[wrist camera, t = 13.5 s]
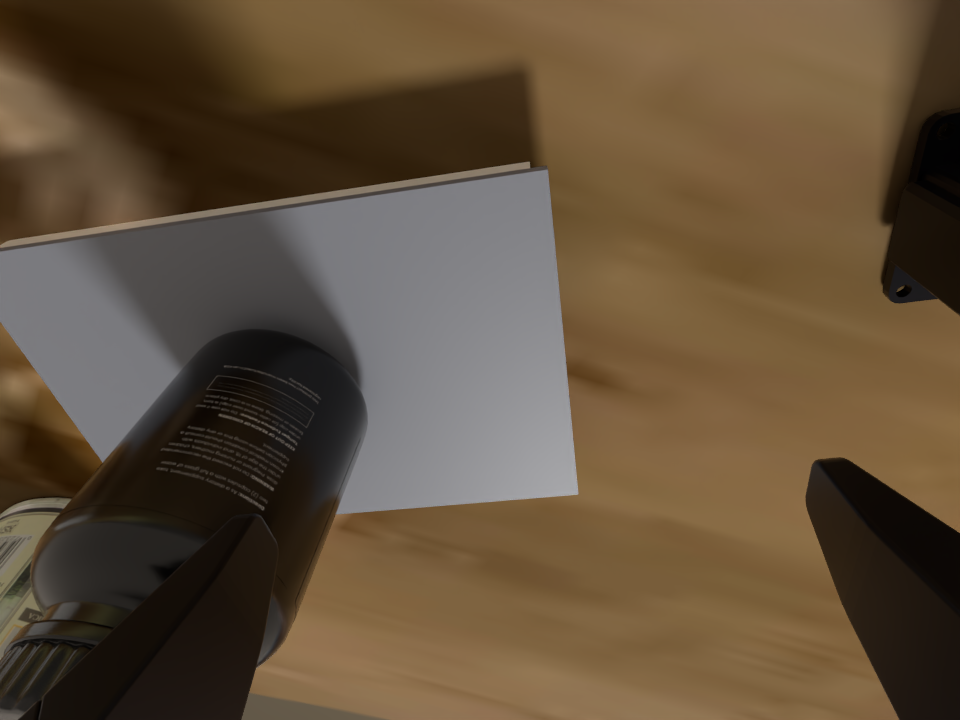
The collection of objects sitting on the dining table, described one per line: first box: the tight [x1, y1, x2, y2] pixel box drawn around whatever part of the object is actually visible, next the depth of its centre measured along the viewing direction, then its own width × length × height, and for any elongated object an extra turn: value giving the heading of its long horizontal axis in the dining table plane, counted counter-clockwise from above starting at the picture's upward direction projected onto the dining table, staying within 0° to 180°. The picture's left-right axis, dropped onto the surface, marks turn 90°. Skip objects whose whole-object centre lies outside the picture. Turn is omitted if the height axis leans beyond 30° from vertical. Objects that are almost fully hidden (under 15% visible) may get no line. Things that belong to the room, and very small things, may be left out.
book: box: [0, 161, 578, 514], centre depth 23 cm, size 20×14×3 cm
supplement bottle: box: [0, 329, 368, 720], centre depth 17 cm, size 7×7×12 cm
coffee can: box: [0, 497, 71, 660], centre depth 27 cm, size 10×10×14 cm
